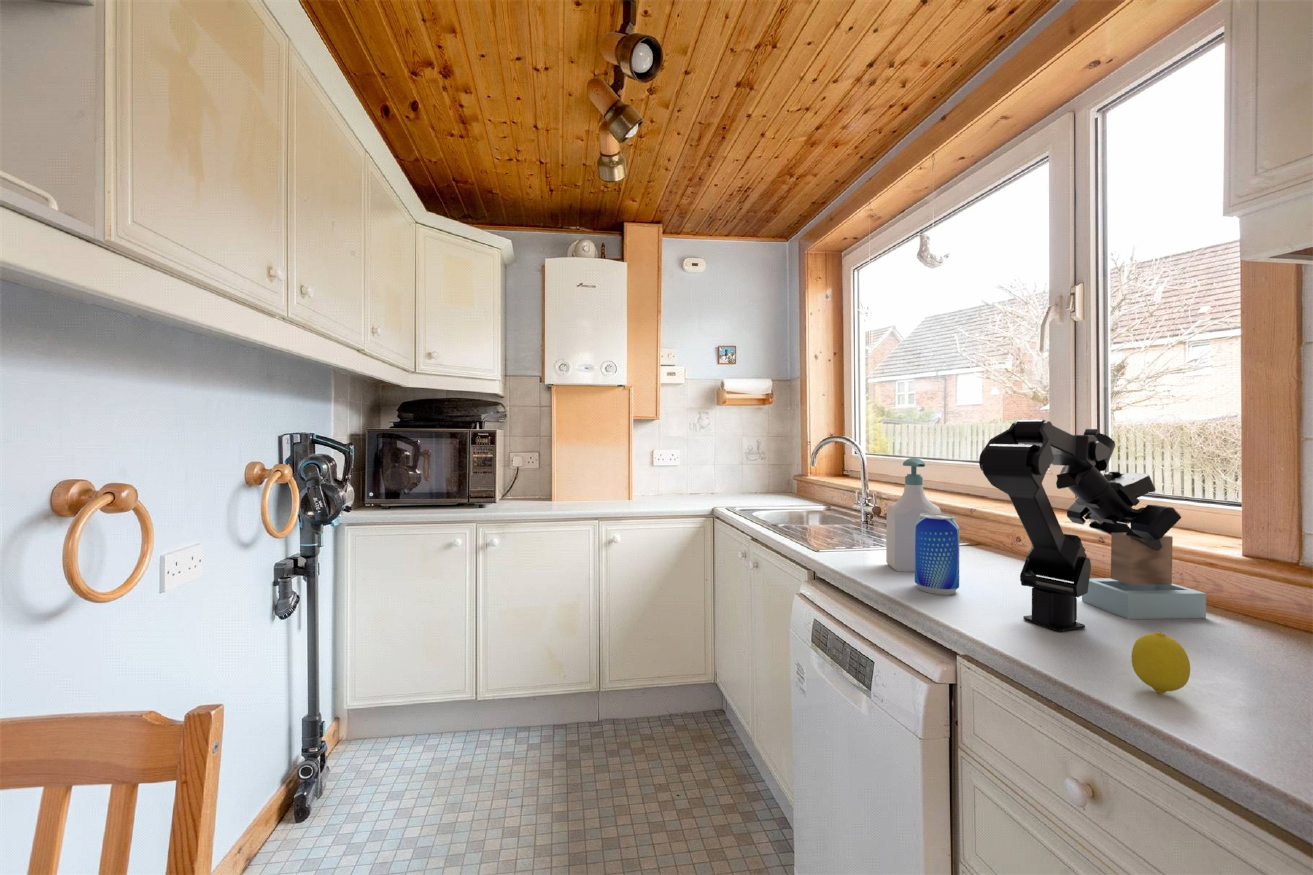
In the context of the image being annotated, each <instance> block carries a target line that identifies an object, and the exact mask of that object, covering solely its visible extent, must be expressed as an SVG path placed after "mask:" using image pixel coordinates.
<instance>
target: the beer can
mask: <svg viewBox="0 0 1313 875" xmlns="http://www.w3.org/2000/svg"><path fill="white" fill-rule="evenodd" d="M914 583H915V584H916V585H917V587H918V589H919V590H921V591H923V592H924V593H928V594H933V595H941V596H942V595H943V596H948V595H950V596H951V595H953V594H955V593H956V591H957V590H958V589H959V588H960V526H959V525H958V523H957V521H956V520H955V516H954V515H951V514H947V513H941V514H938V513H923V514H920V518H919V519H918V521H917V522H916V524H915V572H914Z"/></svg>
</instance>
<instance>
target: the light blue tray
mask: <svg viewBox="0 0 1313 875" xmlns="http://www.w3.org/2000/svg"><path fill="white" fill-rule="evenodd" d="M1081 602H1084V603H1085V604H1089V605H1091V606H1094V607H1096V608H1100V609H1102V610H1104V611H1106V612H1109V613H1111V614H1113V615H1114V614H1115V615H1116V616H1119V617H1122V618H1124V619H1127V620H1148V619H1149V620H1153V619H1155V620H1157V619H1164V620H1165V619H1168V620H1169V619H1206V618H1207V593H1206V592H1202V591H1199V590H1196V589H1193V588H1189V587H1185V586H1183V585H1178V584H1175V583H1172V585H1129V584H1126V583H1123V582H1120V581H1117V580H1114V579H1111V577H1109V578H1108V577H1104V578H1103V577H1100V578H1096V577H1095V578H1094V577H1092V578H1090V579H1089V586H1088V593H1086V594H1084V595H1082V596H1081Z"/></svg>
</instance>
